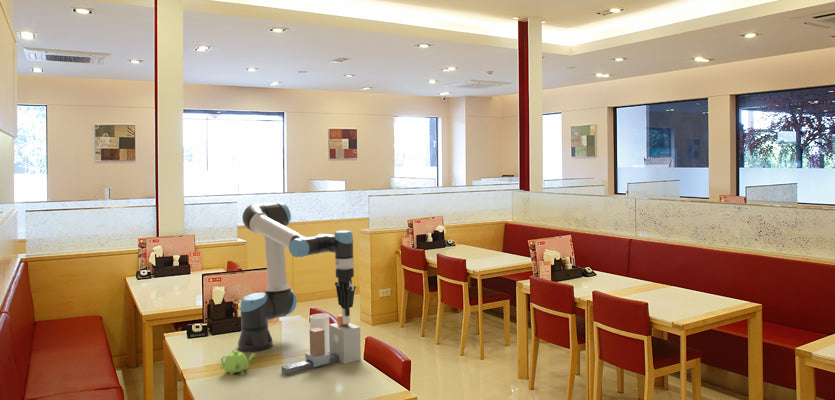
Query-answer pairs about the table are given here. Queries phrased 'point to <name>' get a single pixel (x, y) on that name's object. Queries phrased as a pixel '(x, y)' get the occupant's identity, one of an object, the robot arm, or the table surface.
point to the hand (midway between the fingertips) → (346, 322)
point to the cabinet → (345, 342)
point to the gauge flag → (340, 320)
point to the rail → (306, 365)
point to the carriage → (317, 348)
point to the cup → (321, 326)
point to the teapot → (236, 362)
